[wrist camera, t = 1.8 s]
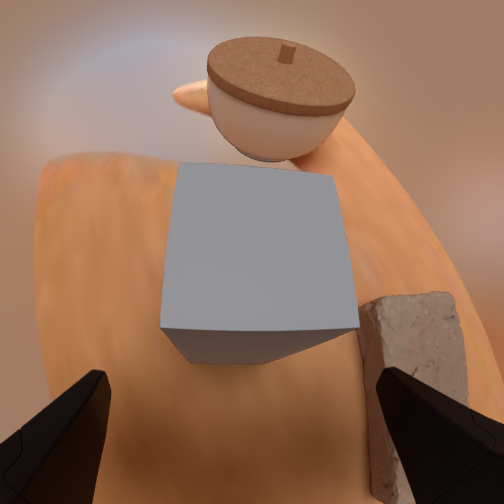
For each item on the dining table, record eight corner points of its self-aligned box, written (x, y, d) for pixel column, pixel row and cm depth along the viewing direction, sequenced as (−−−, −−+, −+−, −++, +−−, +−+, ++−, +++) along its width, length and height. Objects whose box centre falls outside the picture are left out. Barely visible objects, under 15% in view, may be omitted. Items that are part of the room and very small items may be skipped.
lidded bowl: (284, 97, 32) (307, 22, 22) (345, 168, 28) (393, 85, 18) (186, 115, 28) (188, 23, 18) (234, 201, 24) (256, 88, 14)
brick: (348, 309, 22) (380, 290, 17) (423, 300, 23) (457, 282, 19) (364, 499, 15) (396, 516, 10) (439, 464, 16) (474, 469, 12)
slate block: (264, 363, 19) (359, 327, 7) (190, 363, 18) (159, 327, 6) (262, 294, 21) (332, 175, 9) (192, 292, 20) (179, 162, 8)
